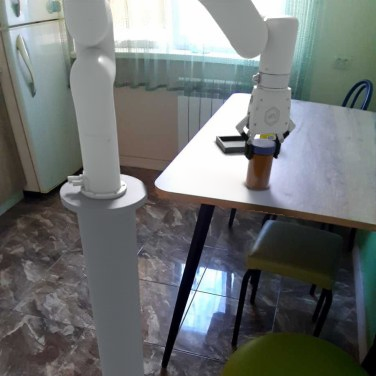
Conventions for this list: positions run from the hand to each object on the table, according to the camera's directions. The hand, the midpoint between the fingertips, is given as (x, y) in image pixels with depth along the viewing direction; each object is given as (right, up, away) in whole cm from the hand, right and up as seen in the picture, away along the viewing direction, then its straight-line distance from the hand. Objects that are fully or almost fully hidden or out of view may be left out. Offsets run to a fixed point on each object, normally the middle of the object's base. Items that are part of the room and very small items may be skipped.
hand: (261, 157), depth 109 cm
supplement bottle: (+8, +20, +33) cm, 39 cm away
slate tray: (-3, +16, +28) cm, 32 cm away
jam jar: (0, -6, +5) cm, 8 cm away
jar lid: (0, +2, -2) cm, 3 cm away
